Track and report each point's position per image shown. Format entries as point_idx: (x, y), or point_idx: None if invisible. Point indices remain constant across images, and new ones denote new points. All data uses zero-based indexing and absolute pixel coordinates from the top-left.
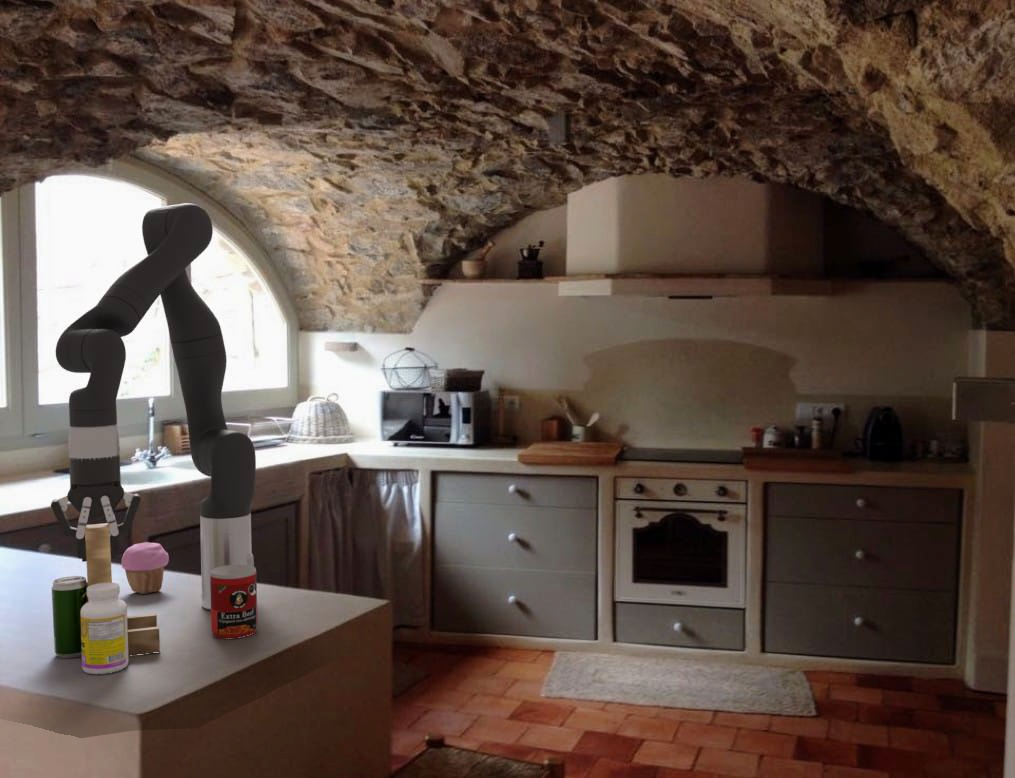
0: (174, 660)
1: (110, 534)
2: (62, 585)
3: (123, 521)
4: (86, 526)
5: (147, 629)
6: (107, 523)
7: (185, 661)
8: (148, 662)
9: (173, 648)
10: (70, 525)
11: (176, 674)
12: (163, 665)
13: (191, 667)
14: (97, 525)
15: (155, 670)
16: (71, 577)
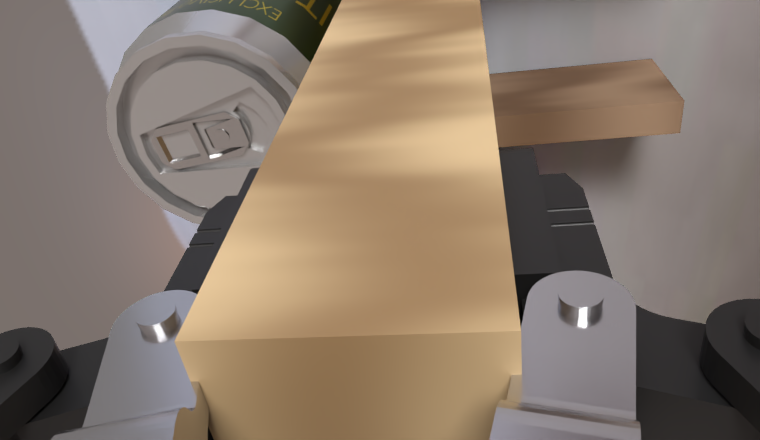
0: (685, 185)
1: (518, 273)
2: (200, 214)
3: (747, 421)
4: (225, 430)
5: (626, 133)
6: (495, 355)
7: (719, 205)
8: (594, 180)
9: (713, 38)
10: (11, 429)
11: (664, 308)
12: (639, 223)
13: (723, 265)
14: (362, 422)
15: (607, 260)
16: (201, 68)
